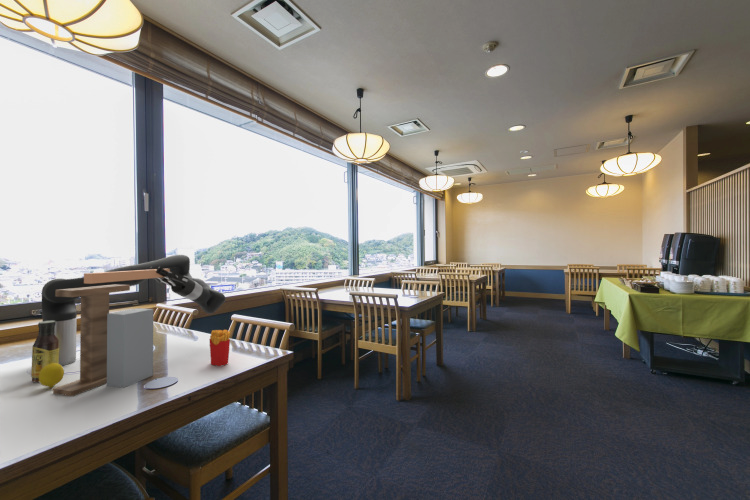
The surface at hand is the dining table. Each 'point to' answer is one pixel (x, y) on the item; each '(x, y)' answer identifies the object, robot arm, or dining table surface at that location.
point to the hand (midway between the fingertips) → (153, 269)
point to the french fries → (219, 347)
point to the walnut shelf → (91, 336)
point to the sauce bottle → (44, 348)
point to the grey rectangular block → (129, 346)
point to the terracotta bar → (120, 276)
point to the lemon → (51, 374)
